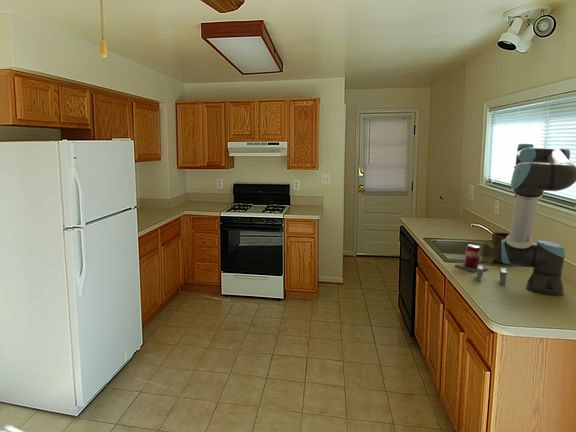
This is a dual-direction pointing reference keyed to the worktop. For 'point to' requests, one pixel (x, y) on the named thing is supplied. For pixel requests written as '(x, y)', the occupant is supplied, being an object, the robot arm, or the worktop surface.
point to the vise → (502, 274)
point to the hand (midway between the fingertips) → (517, 211)
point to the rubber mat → (469, 268)
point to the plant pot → (498, 244)
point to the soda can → (472, 256)
